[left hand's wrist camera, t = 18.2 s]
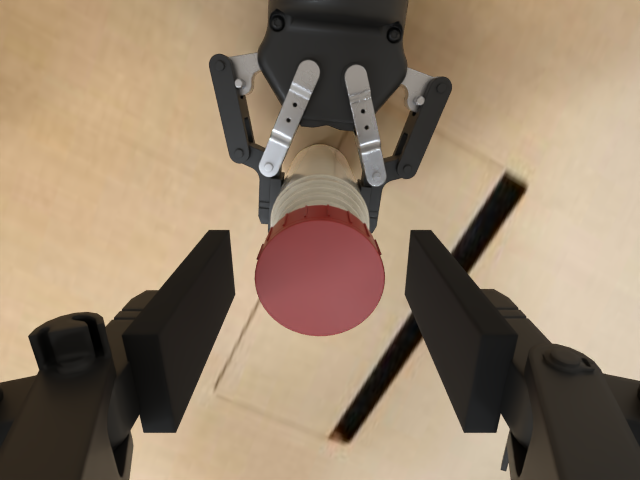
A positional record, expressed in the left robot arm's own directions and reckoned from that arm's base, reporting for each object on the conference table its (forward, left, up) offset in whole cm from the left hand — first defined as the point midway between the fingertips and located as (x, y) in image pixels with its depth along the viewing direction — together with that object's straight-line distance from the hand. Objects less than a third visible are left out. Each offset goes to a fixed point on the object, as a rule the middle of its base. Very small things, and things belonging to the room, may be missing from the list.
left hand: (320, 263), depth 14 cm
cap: (0, 0, +1) cm, 1 cm away
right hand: (-2, +1, -11) cm, 11 cm away
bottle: (0, 0, -17) cm, 17 cm away
